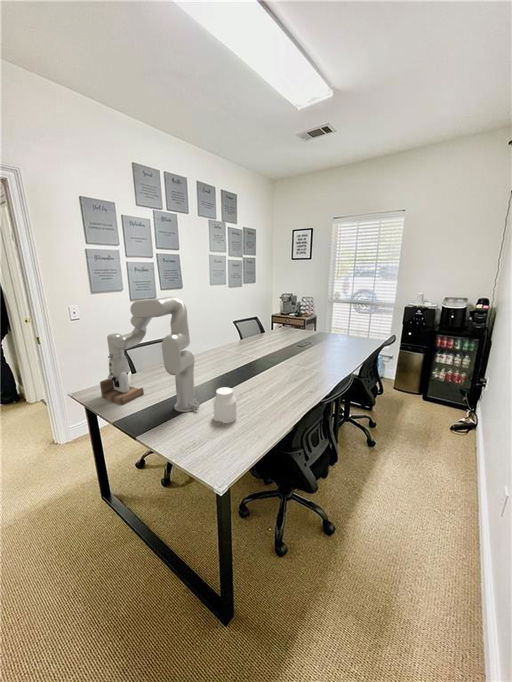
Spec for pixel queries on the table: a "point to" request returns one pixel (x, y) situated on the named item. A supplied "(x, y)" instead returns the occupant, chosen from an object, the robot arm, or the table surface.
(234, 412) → the jar
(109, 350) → the robot arm
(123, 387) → the photo printer
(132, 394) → the cleat board
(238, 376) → the table surface
